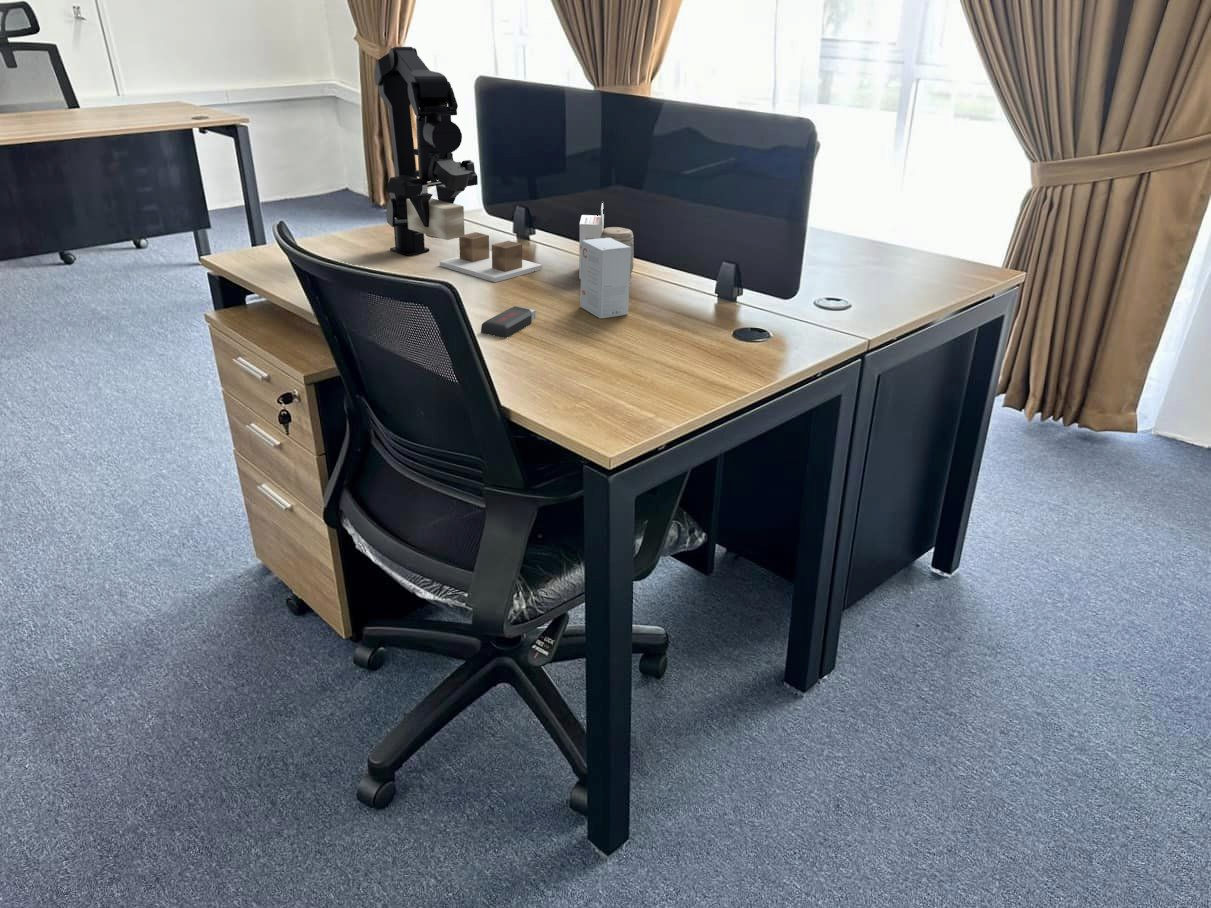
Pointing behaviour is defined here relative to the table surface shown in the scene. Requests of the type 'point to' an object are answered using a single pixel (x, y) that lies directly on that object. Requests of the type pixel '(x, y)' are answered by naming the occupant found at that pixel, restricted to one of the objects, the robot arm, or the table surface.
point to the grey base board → (488, 268)
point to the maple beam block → (438, 219)
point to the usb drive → (508, 322)
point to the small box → (605, 277)
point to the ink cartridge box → (590, 230)
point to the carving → (621, 239)
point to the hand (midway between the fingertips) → (435, 224)
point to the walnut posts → (503, 253)
